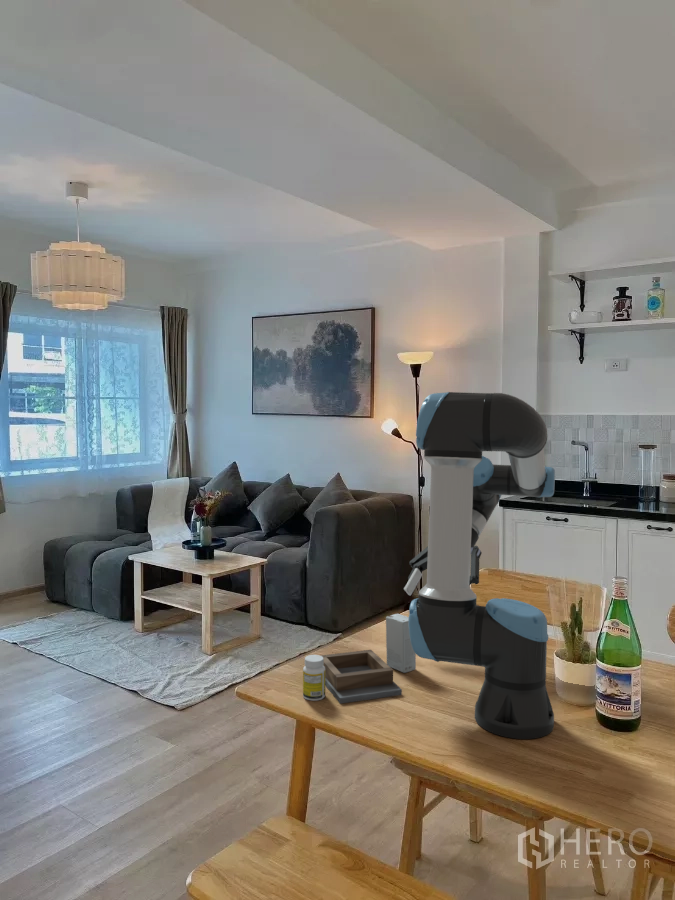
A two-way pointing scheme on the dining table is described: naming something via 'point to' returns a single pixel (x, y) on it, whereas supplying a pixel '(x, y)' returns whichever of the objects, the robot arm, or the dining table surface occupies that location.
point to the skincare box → (399, 644)
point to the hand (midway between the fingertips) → (428, 598)
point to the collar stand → (358, 676)
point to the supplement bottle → (314, 678)
